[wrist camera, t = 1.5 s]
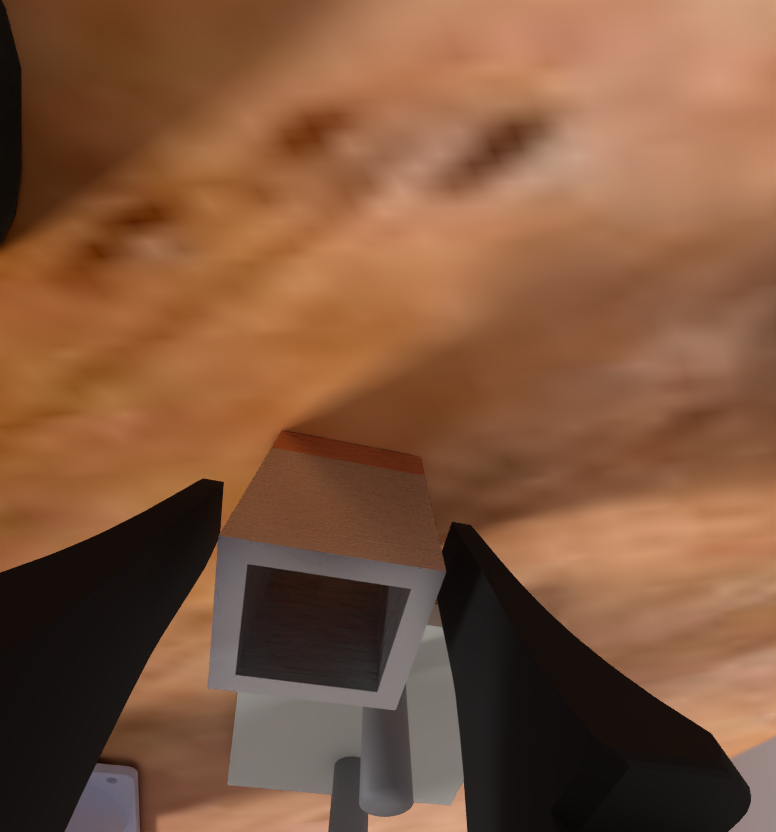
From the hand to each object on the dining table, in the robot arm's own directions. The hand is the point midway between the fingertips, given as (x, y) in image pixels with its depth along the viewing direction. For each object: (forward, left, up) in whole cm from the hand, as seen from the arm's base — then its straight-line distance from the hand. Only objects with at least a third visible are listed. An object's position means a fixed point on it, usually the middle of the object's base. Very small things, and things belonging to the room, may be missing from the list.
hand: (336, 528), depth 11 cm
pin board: (+3, -10, -1) cm, 11 cm away
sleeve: (0, 0, -1) cm, 1 cm away
